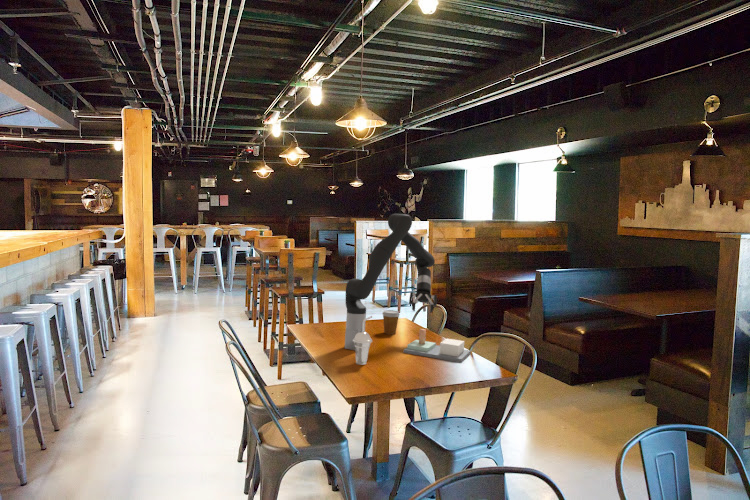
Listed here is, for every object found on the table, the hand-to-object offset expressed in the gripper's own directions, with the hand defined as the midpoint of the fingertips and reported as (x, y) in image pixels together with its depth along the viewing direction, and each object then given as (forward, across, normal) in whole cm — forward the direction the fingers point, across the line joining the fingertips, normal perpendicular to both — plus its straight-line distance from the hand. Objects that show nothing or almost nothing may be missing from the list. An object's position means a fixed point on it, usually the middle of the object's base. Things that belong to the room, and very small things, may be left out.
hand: (422, 311), depth 253 cm
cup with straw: (+41, -26, -16) cm, 51 cm away
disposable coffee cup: (-2, -15, +28) cm, 32 cm away
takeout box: (+23, +14, -2) cm, 27 cm away
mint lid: (+19, +1, +2) cm, 20 cm away
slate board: (+22, +8, +1) cm, 24 cm away
